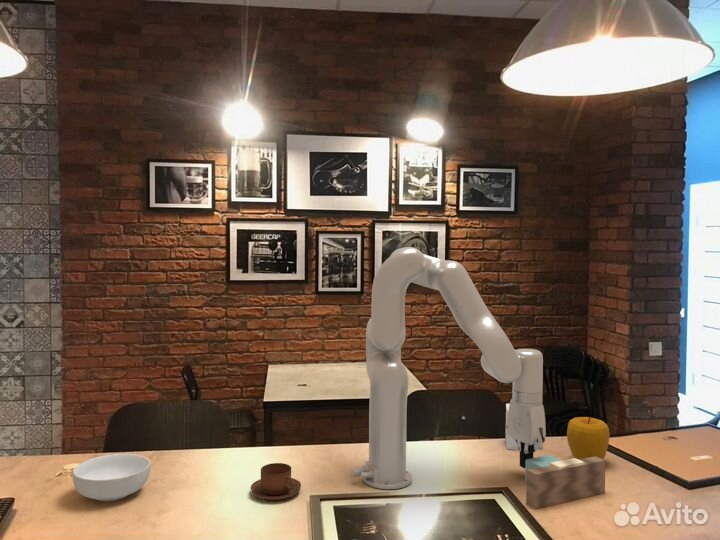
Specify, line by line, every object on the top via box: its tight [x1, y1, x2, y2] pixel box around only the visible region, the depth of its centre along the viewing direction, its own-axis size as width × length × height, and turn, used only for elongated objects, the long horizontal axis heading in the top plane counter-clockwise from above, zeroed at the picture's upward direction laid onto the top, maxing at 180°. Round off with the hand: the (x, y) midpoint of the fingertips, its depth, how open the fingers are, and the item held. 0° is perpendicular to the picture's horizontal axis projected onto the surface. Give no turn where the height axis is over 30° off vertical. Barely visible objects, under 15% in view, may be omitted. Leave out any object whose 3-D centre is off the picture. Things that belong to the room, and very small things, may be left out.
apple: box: [566, 416, 611, 460], centre depth 158 cm, size 11×11×13 cm
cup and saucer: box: [250, 462, 302, 501], centre depth 136 cm, size 12×12×6 cm
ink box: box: [505, 403, 519, 451], centre depth 172 cm, size 9×5×15 cm, turn 168°
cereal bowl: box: [72, 453, 152, 502], centre depth 134 cm, size 17×17×7 cm
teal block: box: [524, 454, 562, 484], centre depth 141 cm, size 8×10×6 cm
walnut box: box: [525, 456, 606, 510], centre depth 134 cm, size 22×3×9 cm, turn 115°
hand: (526, 466), depth 147 cm, fingers closed
